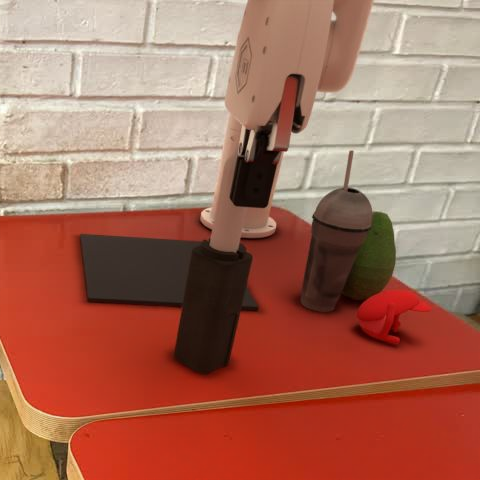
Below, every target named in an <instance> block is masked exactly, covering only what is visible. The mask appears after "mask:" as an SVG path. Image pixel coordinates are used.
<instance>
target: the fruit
mask: <svg viewBox="0 0 480 480" xmlns="http://www.w3.org/2000/svg"><path fill="white" fill-rule="evenodd" d="M396 258H397V249H396V241H395V232H394V225H393V222H392V220H391V217H390V216H389V215H388V213H385V212H382V211H373V210H372V224H371V230H369V232H368V235H367V237H366V239H365V240H364V242H363V243H362V244H361V247H360V249H359V251H358V254H357V256H356V259H355V261H354V263H353V266H352V268H351V271H350V273H349V276H348V278H347V280H346V283H345V285H344V288H343V290H342V292H341V294H343V295H344V296H346V297H347V298H349V299H352V300H354V301H366V300H367V299H368V298H370V297H372V296H374V295H376V294H378V293H381V292H383V290H384V289H385V288H386V287H387V285H388V284H389V282H390V281H391V279H392V277H393V275H394V271H395V267H396V261H397V260H396Z"/></svg>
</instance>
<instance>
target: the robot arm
mask: <svg viewBox="0 0 480 480" xmlns="http://www.w3.org/2000/svg"><path fill="white" fill-rule="evenodd" d="M374 2H375V0H247V2H246V5H245V9H244V12H243V16H242V19H241V24H240V27H239V30H238V33H237V36H236V41H235V49H234V54H233V58H232V63H231V68H230V71H229V72H230V73H229V76H228V81H227V85H226V90H225V96H224V107H225V109H226V111H228V118H227V124H226V129H225V132H224V133H225V134H224V139H223V146H222V149H221V150H222V151H221V156H220V159H219V166H218V171H217V177H216V183H215V188H214V193H213V198H212V204H211V207H207V208H205V209H203V210H202V211H201V213H200V218H199V219H200V220H199V221H200V222H201V223H202V225H203V226H204V227H206V228H207V229H210V230H211V231H212V228H213V223H214V218H215V212H216V207H217V202H218V197H219V191H220V186H221V181H222V175H223V170H224V165H225V162H226V161H227V159H228V158H229V157H230V156H231V155H232V154H233V153H234V151H235V149H236V147H237V145H238V143H239V149H238V154H239V155H241V156H237V161H236V166H235V171H234V176H233V181H232V186H231V191H230V196H229V198H230V200H231V201H232V203H233V204H234V205H235V206H237V207H247V210H246V214H245V219H244V224H243V229H242V233H241V238H240V239H242V238H243V239H263V238H267V237H271V236H272V235H274V234H275V232H276V228H277V222H276V221H275V220H274V219H273V218H272V217H271V216H270V213H271V210H272V204H273V200H274V195H275V191H276V189H277V188H276V187H277V183H278V179H279V175H280V170H281V165H282V161H283V158H284V155H285V154H284V153H285V152H288V151H289V148H290V142H291V138H292V133H293V134H294V135H295V134H296V135H297V134H299V133H301V132H303V131H304V130H305V129H306V128H307V126H308V124H309V121H310V118H311V115H312V111H313V108H314V105H315V100H316V96H317V93H338V92H340V91H342V90H344V89H345V88H346V87H347V86H348V84H349V83H350V81H351V79H352V76H353V74H354V71H355V69H356V65H357V62H358V59H359V55H360V52H361V48H362V44H363V41H364V39H365V33H366V31H367V28H368V24H369V19H370V16H371V12H372V9H373V6H374ZM333 14H334V16H335V18H334V19H332V16H333ZM239 141H240V142H239ZM242 156H244V157H242Z"/></svg>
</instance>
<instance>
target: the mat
mask: <svg viewBox="0 0 480 480" xmlns="http://www.w3.org/2000/svg"><path fill="white" fill-rule="evenodd" d="M79 240H80V248H81V257H82V264H83V265H82V266H83V273H84V280H85V289H86V298H87V302H88V303H100V304H101V303H104V304H121V305H142V306H157V307H158V306H160V307H161V306H162V307H163V306H164V307H177V308H182V305H183V299H184V293H185V287H186V282H187V276H188V270H189V264H190V259H191V253H192V249H193V248H194V247H196V246H200V245H201V243H202V241H203V240H202V241H200V240H185V239H168V238H152V237H137V236H123V235H108V234H107V235H105V234H91V233H90V234H89V233H79ZM241 311H254V312H258V311H259V305H258V304H257V302H256V299H255V298H254V297H253V295H252V293H251V290H249V287H248V285H247V286H246V290H245V295H244V299H243V303H242V308H241Z"/></svg>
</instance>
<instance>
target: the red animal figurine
mask: <svg viewBox="0 0 480 480" xmlns="http://www.w3.org/2000/svg"><path fill="white" fill-rule="evenodd" d="M408 311H412V312H419V313H428V312H432V311H433V308H432V306H431V305H430V304H428V303H427V302H425V301H423V300H421V299H419V298H418V295H416V294H415V293H414V292H412V291H409V290H407V289H389V290H384V291H381V292H380V293H378V294H376V295H374V296H372V297H370V298H368V299H365V300H364V301H363V302H362V303H361V304H360V306H359V307H358V309H357V312H356V318H357V321H358V324H359V326H360V329H361V331H363V332H364V333H365V334H367V335H368V336H370V337H371V338H374V339H376V340H379V341H383V342H386V343H390V344H394V345H398V344H399V343H400V342H401V339H400V337H398V336H394V335H390V334H389V332H390V331H391V332H392V333H397V332H398V331H399V328H400V327H401V324H402V323H401V321H400V316H401V315H402V314H404V313H406V312H408Z"/></svg>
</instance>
